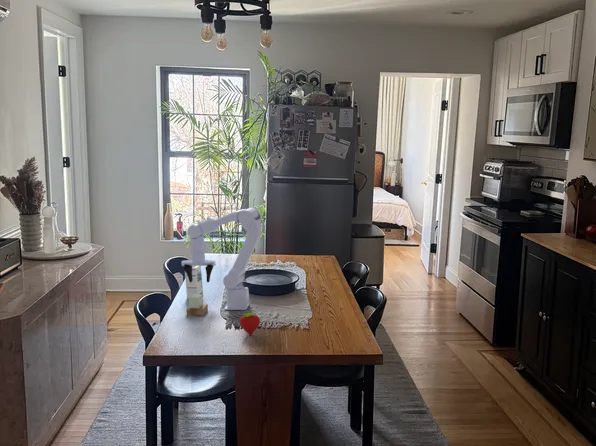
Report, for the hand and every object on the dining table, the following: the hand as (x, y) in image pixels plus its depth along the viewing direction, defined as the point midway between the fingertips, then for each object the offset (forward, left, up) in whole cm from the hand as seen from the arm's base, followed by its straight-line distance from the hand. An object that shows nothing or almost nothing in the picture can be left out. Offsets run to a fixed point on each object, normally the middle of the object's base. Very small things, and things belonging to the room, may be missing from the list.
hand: (199, 281), depth 224 cm
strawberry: (-28, +33, -11) cm, 45 cm away
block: (-2, +11, -11) cm, 16 cm away
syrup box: (+6, -11, -11) cm, 16 cm away
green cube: (-1, +12, -7) cm, 14 cm away
